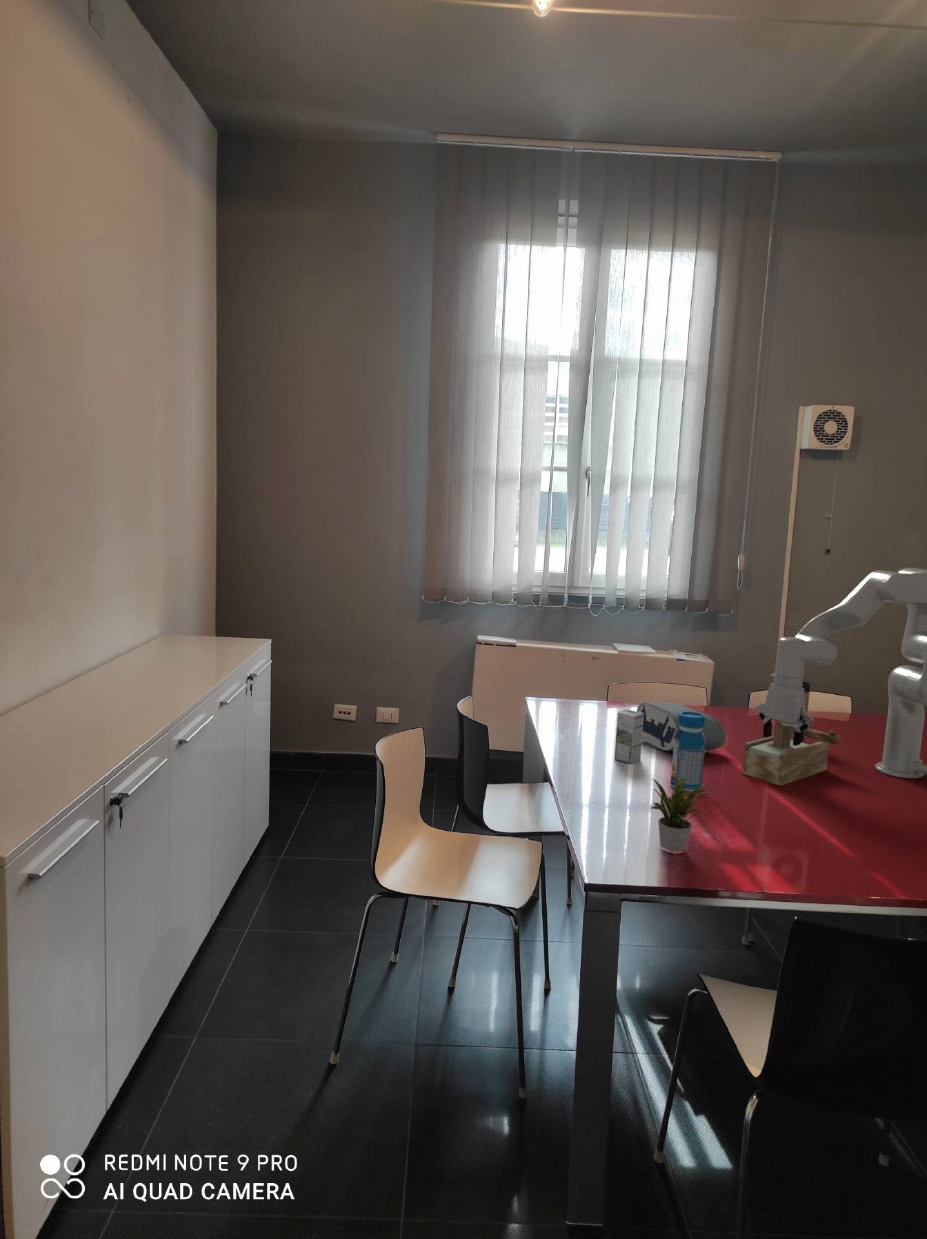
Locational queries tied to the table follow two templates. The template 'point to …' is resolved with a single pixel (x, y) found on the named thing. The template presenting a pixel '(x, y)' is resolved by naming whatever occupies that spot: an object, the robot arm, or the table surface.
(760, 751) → the lid
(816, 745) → the toolbox
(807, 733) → the wooden bar
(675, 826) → the house plant
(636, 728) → the syrup box
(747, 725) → the table surface
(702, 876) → the table surface
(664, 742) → the grey hat
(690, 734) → the beverage bottle
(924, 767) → the robot arm
